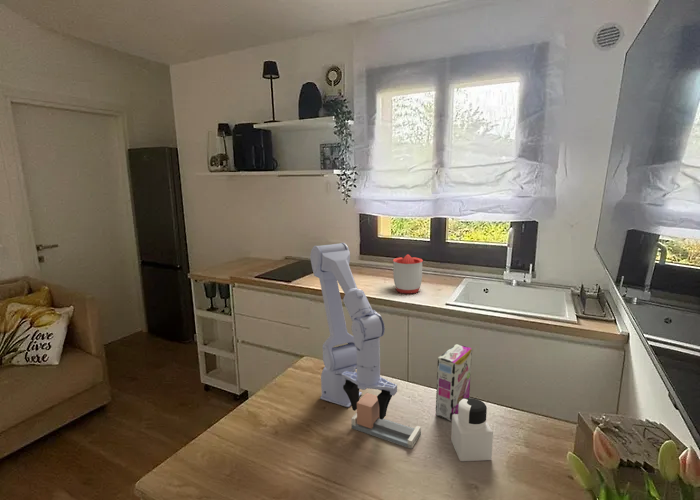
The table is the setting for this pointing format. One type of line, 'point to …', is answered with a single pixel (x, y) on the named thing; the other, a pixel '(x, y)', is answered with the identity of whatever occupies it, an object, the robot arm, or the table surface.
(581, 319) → the table surface
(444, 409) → the candy bar box
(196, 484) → the table surface
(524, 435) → the table surface
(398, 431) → the rail
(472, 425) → the medicine bottle
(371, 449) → the table surface
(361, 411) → the pink rectangular block
